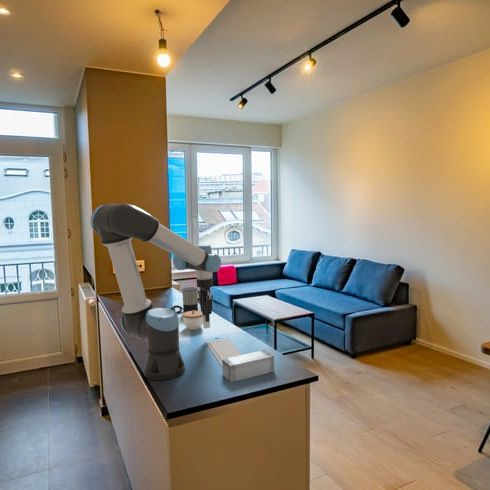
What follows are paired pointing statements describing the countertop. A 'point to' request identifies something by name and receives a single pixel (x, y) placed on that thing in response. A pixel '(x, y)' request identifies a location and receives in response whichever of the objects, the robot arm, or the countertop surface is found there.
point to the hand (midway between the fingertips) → (206, 327)
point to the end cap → (247, 365)
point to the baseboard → (223, 349)
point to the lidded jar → (193, 319)
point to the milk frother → (188, 300)
